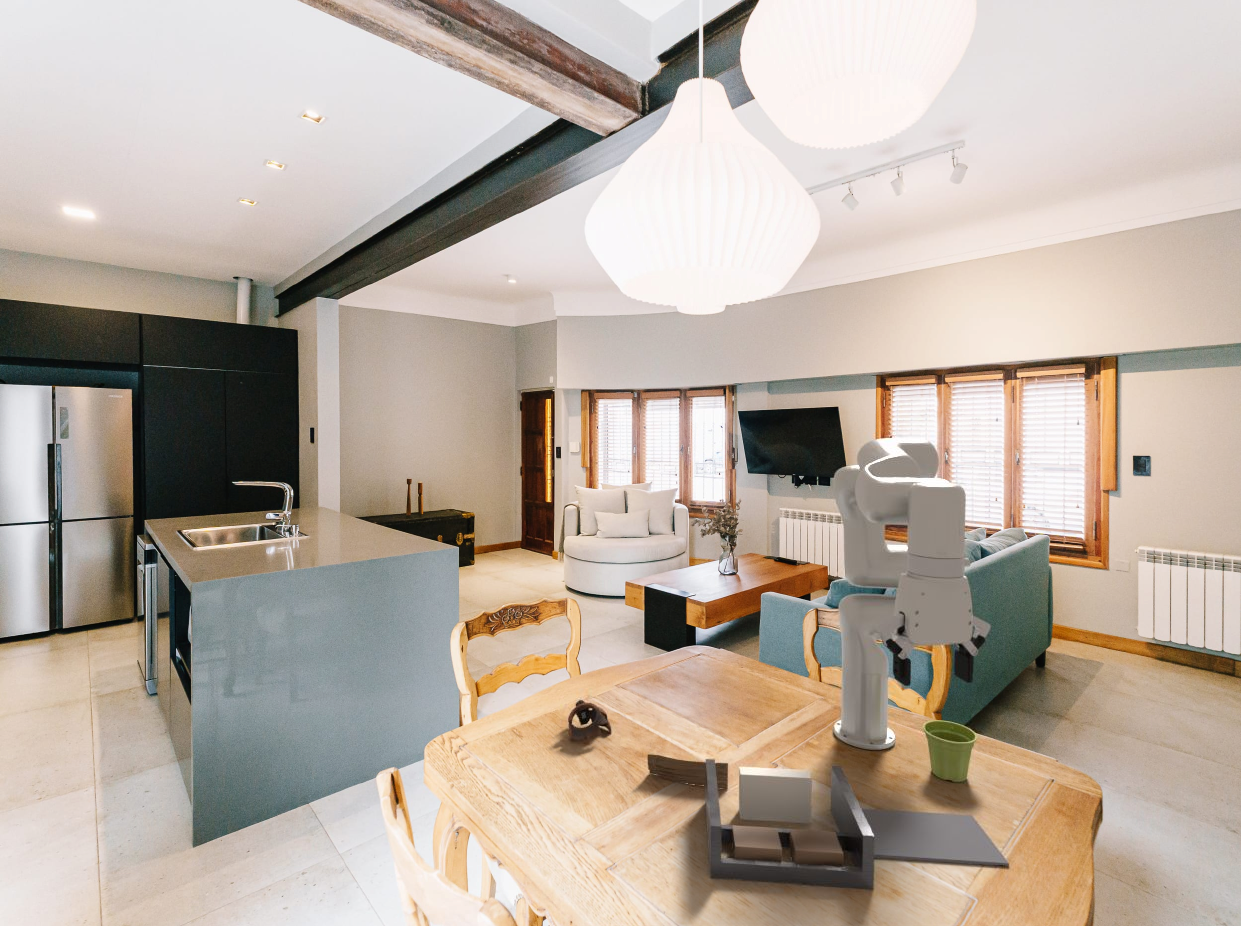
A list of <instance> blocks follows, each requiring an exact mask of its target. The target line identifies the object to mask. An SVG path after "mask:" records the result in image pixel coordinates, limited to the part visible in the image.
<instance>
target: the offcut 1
mask: <svg viewBox="0 0 1241 926" xmlns="http://www.w3.org/2000/svg"><path fill="white" fill-rule="evenodd" d="M731 825H732V844H731V846H732V847H731V849H732V850H731V851H732V856H733V858H734V859H746V860H761V861H775V862H783V847H781V843H780V839H779V835H778V831H777V828H778V827H769V828H766V826H765V827H764V826H753V827H750V825H737V826H734V825H735V824H731ZM733 858H732V859H733Z"/></svg>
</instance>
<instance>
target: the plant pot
mask: <svg viewBox="0 0 1241 926" xmlns="http://www.w3.org/2000/svg"><path fill="white" fill-rule="evenodd" d="M922 730H923V732H924V735H925V738H926V739H927V745H928V754H929V761H930V769H931V772H932V774H934V775H935V777H938V778H939V779H941V780H944V781H946V780H947V781H952V782H953V783H962V782H965V781H966V780H967V779H968V773H969V767H970V762H971V756H972V752H973V751H972V749H973V748H974V745H975V742H977V739H978V735H977V733H976V732H975V731H974V730H972V729H971V728H970V727H967V726H965V725H963V724H960V723H956V722H953V721H948V720H938V719H937V720H928V721H926V722H925V723H923V724H922Z"/></svg>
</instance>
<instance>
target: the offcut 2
mask: <svg viewBox="0 0 1241 926" xmlns="http://www.w3.org/2000/svg"><path fill="white" fill-rule="evenodd" d="M789 829H790V848H789V855H790V860H791V863H805V864H820V865H834V866H844V855H845V854H844V851H842V848H841V846H840V843H839V841H838V838H837V835H836V833H835V832H836V831H834V832H829V831H830V830H829V831H828V830H818V831H814V829H813V830H812V829H801V830H798V829H799V828H789Z"/></svg>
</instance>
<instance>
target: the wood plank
mask: <svg viewBox="0 0 1241 926" xmlns="http://www.w3.org/2000/svg"><path fill="white" fill-rule="evenodd" d="M715 768H716V777H717V787H718V788H723V789H722V790H726V789H728V790H729V788H728V786H729V783H728V782H729V780H728V779H729V763H728V762H715ZM647 770H648V771H649V772H648V773H649V775H656V776H658V777H660V778H663V779H665V780H669V781H672V782H677V783H680V782H681V784H684V783H688V784H695V785H694V786H697V785H704V786H706V761H695V760H694V761H693V760H684V759H678V758H673V757H667V756H664V755H660V754H652V753H651V754H647ZM688 784H687V785H688ZM704 786H703V787H704Z"/></svg>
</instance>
